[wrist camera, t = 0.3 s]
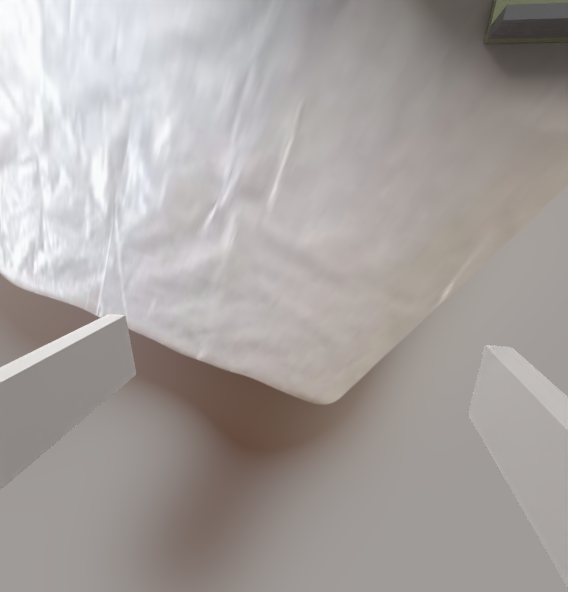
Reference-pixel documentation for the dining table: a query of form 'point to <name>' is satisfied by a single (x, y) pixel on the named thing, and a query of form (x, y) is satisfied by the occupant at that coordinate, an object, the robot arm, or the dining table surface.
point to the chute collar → (528, 21)
